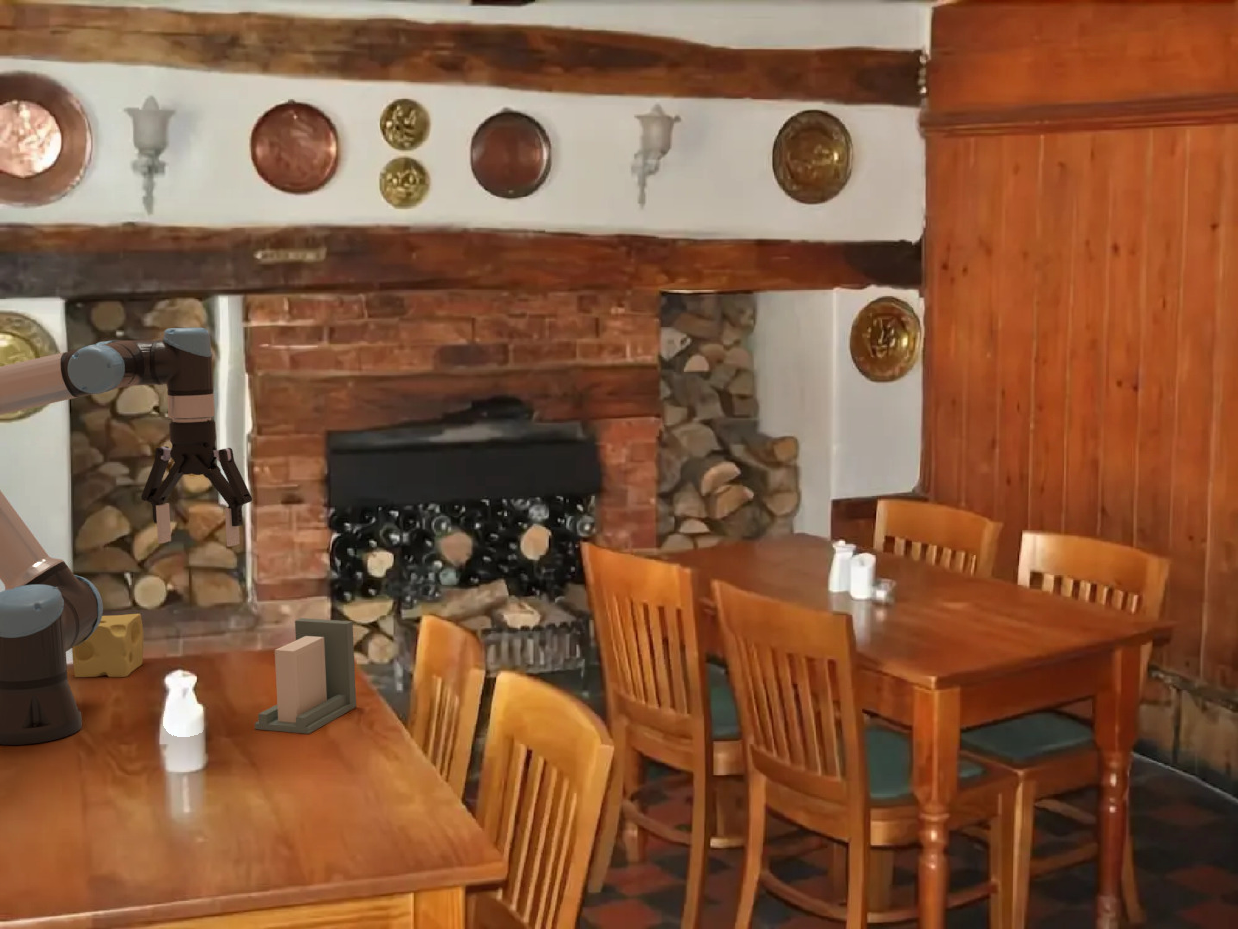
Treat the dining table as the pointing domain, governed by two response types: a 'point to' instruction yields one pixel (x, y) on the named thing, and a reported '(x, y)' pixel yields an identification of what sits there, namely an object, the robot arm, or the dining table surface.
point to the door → (300, 677)
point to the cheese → (111, 648)
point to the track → (337, 678)
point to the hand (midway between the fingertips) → (198, 543)
